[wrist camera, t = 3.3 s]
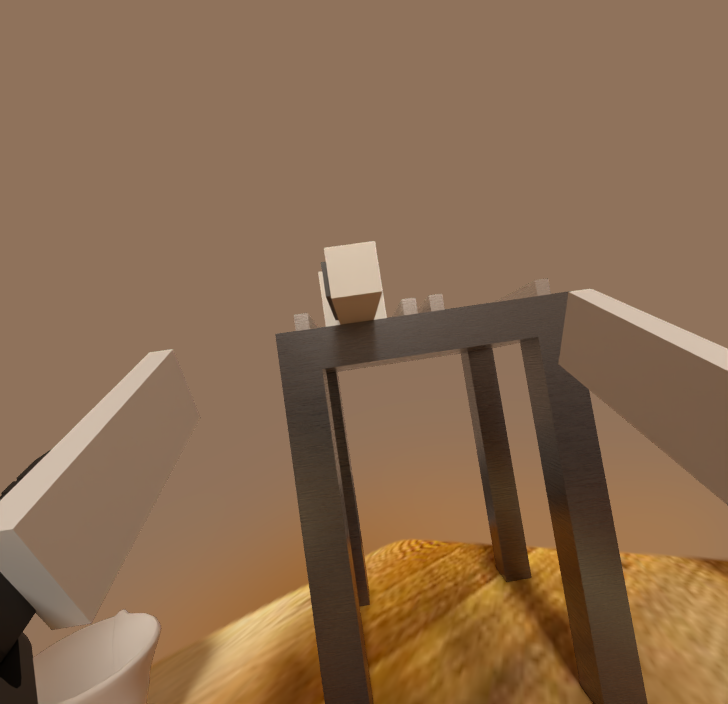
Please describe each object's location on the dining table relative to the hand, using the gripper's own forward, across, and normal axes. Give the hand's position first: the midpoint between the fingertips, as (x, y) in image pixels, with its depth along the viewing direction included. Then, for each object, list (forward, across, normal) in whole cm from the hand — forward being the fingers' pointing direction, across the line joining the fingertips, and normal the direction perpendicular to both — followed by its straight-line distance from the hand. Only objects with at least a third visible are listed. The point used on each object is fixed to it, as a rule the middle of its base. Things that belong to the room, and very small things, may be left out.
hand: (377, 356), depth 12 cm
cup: (-1, -22, -31) cm, 38 cm away
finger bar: (+14, 0, -4) cm, 15 cm away
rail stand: (+7, +5, -35) cm, 36 cm away
